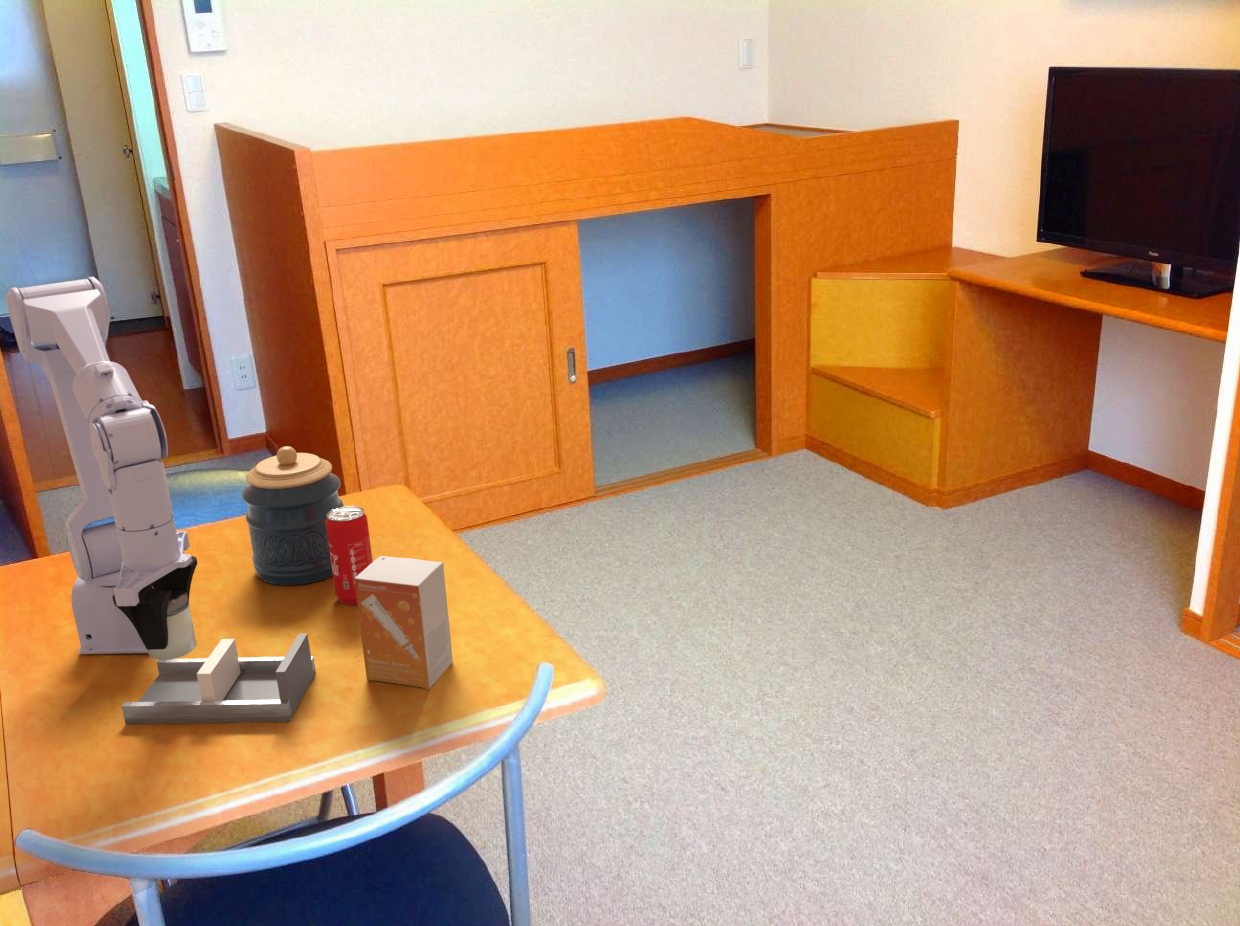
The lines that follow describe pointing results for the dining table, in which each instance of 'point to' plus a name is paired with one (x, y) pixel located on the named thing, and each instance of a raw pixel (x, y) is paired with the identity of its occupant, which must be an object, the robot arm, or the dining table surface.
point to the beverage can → (348, 549)
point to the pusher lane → (254, 697)
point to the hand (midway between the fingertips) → (167, 635)
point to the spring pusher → (219, 671)
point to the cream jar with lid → (177, 628)
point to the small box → (404, 621)
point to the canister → (291, 516)
